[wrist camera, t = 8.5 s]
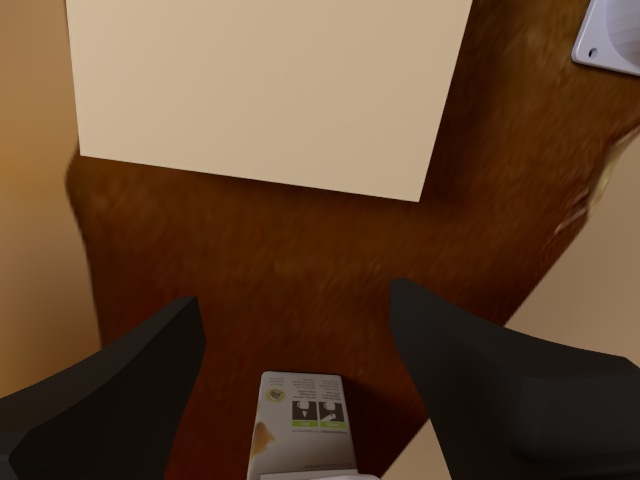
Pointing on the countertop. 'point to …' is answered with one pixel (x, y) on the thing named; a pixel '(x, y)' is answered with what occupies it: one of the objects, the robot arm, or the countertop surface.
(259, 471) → the coffee box
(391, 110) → the carton
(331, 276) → the countertop surface
